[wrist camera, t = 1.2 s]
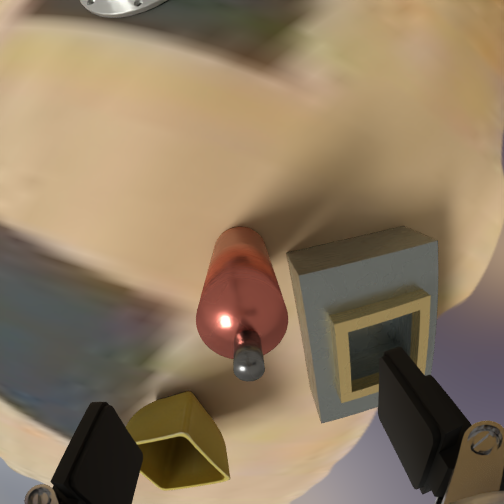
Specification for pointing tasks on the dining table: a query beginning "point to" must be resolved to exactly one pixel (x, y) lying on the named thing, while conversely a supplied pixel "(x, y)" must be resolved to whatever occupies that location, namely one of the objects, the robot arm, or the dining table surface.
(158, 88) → the dining table surface
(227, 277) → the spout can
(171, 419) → the flower pot
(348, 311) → the grey box with hole
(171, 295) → the dining table surface
